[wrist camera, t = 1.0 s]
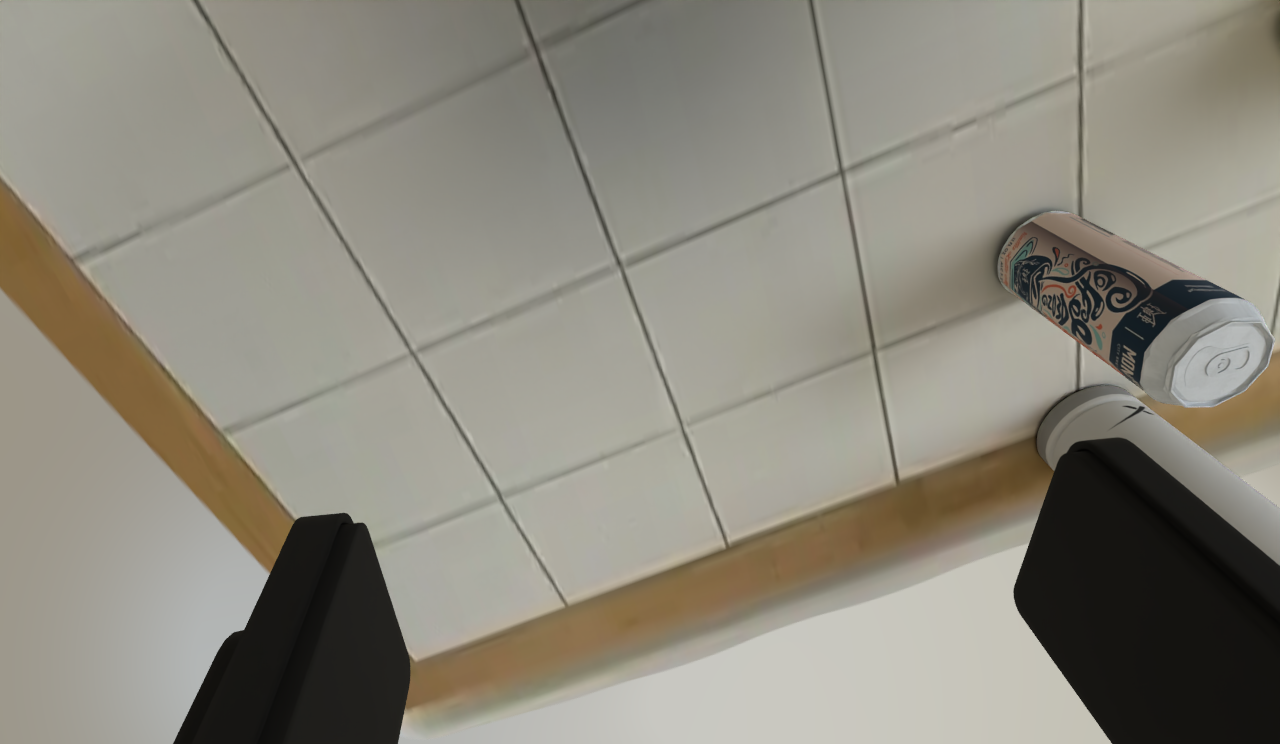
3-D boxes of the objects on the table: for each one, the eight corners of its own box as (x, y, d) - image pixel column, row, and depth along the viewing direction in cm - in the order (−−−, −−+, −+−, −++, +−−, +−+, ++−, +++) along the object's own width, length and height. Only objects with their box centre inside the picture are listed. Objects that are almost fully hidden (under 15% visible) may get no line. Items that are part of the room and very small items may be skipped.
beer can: (992, 222, 36) (1168, 330, 25) (1084, 195, 35) (1300, 294, 25) (991, 303, 38) (1151, 431, 28) (1078, 279, 38) (1271, 399, 28)
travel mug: (1099, 362, 41) (1487, 653, 24) (1151, 416, 43) (1534, 713, 26) (1012, 432, 43) (1311, 745, 26) (1067, 480, 46) (1371, 793, 29)
